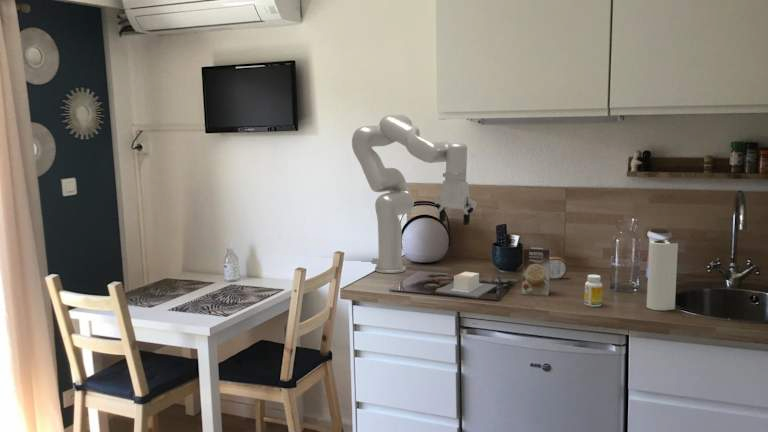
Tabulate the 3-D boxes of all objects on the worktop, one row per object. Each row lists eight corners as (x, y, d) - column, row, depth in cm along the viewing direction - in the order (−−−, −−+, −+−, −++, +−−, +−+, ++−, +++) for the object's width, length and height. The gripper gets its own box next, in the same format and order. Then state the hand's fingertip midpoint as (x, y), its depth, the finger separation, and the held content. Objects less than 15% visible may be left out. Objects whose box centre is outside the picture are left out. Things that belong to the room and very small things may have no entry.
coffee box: (521, 294, 224) (522, 248, 222) (522, 289, 230) (523, 245, 228) (548, 296, 221) (549, 249, 219) (549, 291, 227) (550, 246, 225)
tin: (566, 278, 247) (566, 256, 245) (567, 280, 243) (568, 258, 242) (525, 277, 248) (526, 256, 247) (526, 279, 245) (527, 257, 244)
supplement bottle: (581, 305, 210) (582, 276, 208) (588, 301, 213) (589, 273, 212) (597, 308, 206) (598, 278, 205) (604, 304, 210) (605, 275, 208)
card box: (465, 283, 237) (465, 271, 236) (479, 285, 234) (479, 272, 233) (453, 288, 229) (453, 275, 229) (467, 290, 226) (467, 277, 226)
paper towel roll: (642, 307, 206) (645, 241, 203) (654, 304, 209) (657, 239, 206) (662, 313, 199) (665, 244, 196) (674, 310, 203) (678, 242, 200)
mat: (435, 292, 228) (435, 290, 228) (456, 281, 243) (456, 279, 243) (477, 298, 220) (477, 295, 220) (497, 286, 235) (497, 284, 235)
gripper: (430, 176, 239) (428, 222, 242) (472, 180, 230) (471, 227, 233) (439, 174, 245) (438, 219, 248) (481, 178, 236) (479, 224, 239)
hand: (454, 223), depth 241 cm, fingers open, 9 cm apart
